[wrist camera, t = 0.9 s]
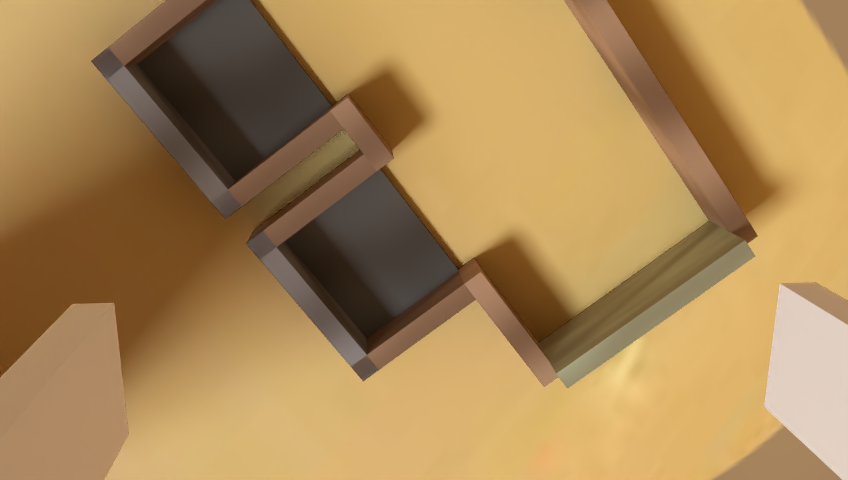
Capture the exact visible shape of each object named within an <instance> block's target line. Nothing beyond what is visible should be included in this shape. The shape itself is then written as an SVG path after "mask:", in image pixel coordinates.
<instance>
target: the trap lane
mask: <svg viewBox="0 0 848 480" xmlns="http://www.w3.org/2000/svg"><path fill="white" fill-rule="evenodd" d="M565 2H566V3H567V5H568V7H569V8H570V10H571V11H572V13H573V14H574V16H575V17H576V19H577V20H578V22H579V23H580V25H581V26H582V28H583V29H584V31H585V32H586V34H587V35H588V37H589V38H590V40H591V42H592V43H593V45H594V46H595V48H596V49H597V51H598V52H599V54H600V55H601V57H602V58H603V60H604V61H605V63H606V64H607V66H608V67H609V69H610V70H611V72H612V73H613V75H614V77H615V78H616V80H617V81H618V83H619V84H620V86H621V87H622V89H623V90H624V92H625V93H626V95H627V96H628V98H629V99H630V101H631V102H632V104H633V105H634V107H635V108H636V110H637V112H638V113H639V115H640V116H641V118H642V119H643V121H644V122H645V124H646V125H647V127H648V128H649V130H650V131H651V133H652V134H653V136H654V137H655V139H656V140H657V142H658V143H659V145H660V147H661V148H662V150H663V151H664V153H665V154H666V156H667V157H668V159H669V160H670V162H671V163H672V165H673V166H674V168H675V169H676V171H677V172H678V174H679V175H680V177H681V178H682V180H683V182H684V183H685V185H686V186H687V188H688V189H689V191H690V192H691V194H692V195H693V197H694V198H695V200H696V201H697V203H698V204H699V206H700V207H701V209H702V210H703V212H704V213H705V215H706V217H707V218H708V220H709V222H707V223H706V224H705V225H703V226H702V227H700V228H699V229H698V230H696V231H695V232H693V233H692V234H691V235H689V236H688V237H686V238H685V239H684V240H682V241H681V242H679V243H678V244H677V245H675V246H674V247H672V248H671V249H670V250H668V251H667V252H665V253H664V254H663V255H661V256H660V257H658V258H657V259H655V260H654V261H653V262H651V263H650V264H648V265H647V266H646V267H644V268H643V269H641V270H640V271H639V272H637V273H636V274H634V275H633V276H632V277H630V278H629V279H627V280H626V281H625V282H623V283H622V284H620V285H619V286H618V287H616V288H615V289H613V290H612V291H611V292H609V293H608V294H606V295H605V296H604V297H602V298H601V299H599V300H598V301H597V302H595V303H594V304H592V305H591V306H590V307H588V308H587V309H585V310H584V311H583V312H581V313H580V314H578V315H577V316H576V317H574V318H573V319H571V320H570V321H569V322H567V323H566V324H564V325H563V326H562V327H560V328H559V329H557V330H556V331H555V332H553V333H552V334H550V335H549V336H548V337H546V338H545V339H543V340H542V341H541V342H539V343H538V341H537V340H536V339H535V337H534V336H533V335H532V334H531V332H530V331H529V330H528V328H527V327H526V326H525V324H524V323H523V322H522V320H521V319H520V318H519V317H518V315H517V314H516V313H515V311H514V310H513V309H512V307H511V306H510V305H509V303H508V302H507V301H506V299H505V298H504V297H503V296H502V294H501V293H500V292H499V290H498V289H497V288H496V286H495V285H494V284H493V282H492V281H491V280H490V279H489V277H488V276H487V275H486V273H485V272H484V271H483V269H482V268H481V267H480V265H479V264H478V263H477V261H476V260H475V259H474V258H473V259H472V260H470V261H469V262H468V263H466V264H465V265H463V266H462V267H461V268H459V269H458V268H457V267H456V266H455V264H454V263H453V262H452V261H451V259H450V258H449V257H448V255H447V254H446V253H445V251H444V250H443V249H442V248H441V246H440V245H439V244H438V242H437V241H436V240H435V239H434V237H433V236H432V235H431V233H430V232H429V231H428V229H427V228H426V227H425V226H424V224H423V223H422V222H421V220H420V219H419V218H418V217H417V215H416V214H415V213H414V211H413V210H412V209H411V207H410V206H409V205H408V204H407V202H406V201H405V200H404V198H403V197H402V196H401V195H400V193H399V192H398V191H397V189H396V188H395V187H394V185H393V184H392V183H391V182H390V180H389V179H388V178H387V176H386V175H385V174H384V173H383V171H382V170H381V168H382V167H383V166H385V165H386V164H387V163H389V162H390V161H391V160H393V159H394V157H393V152H392V150H391V149H390V147H389V146H388V145H387V143H386V142H385V141H384V140H383V138H382V137H381V136H380V134H379V133H378V132H377V130H376V129H375V128H374V126H373V125H372V124H371V123H370V121H369V120H368V119H367V117H366V116H365V115H364V113H363V112H362V111H361V109H360V108H359V107H358V105H357V104H356V103H355V102H354V100H353V99H352V98H351V96H350V95H349V94H347V95H346V96H345V97H343V98H342V99H341V100H340V101H338V102H337V103H336V104H334V105H333V106H332V105H331V104H330V103H329V101H328V100H327V99H326V97H325V96H324V95H323V94H322V92H321V91H320V90H319V88H318V87H317V86H316V85H315V83H314V82H313V81H312V79H311V78H310V77H309V75H308V74H307V73H306V72H305V70H304V69H303V68H302V66H301V65H300V64H299V63H298V61H297V60H296V59H295V57H294V56H293V55H292V53H291V52H290V51H289V50H288V48H287V47H286V46H285V44H284V43H283V42H282V41H281V39H280V38H279V37H278V35H277V34H276V33H275V31H274V30H273V29H272V28H271V26H270V25H269V24H268V22H267V21H266V20H265V19H264V17H263V16H262V15H261V13H260V12H259V11H258V9H257V8H256V7H255V6H254V4H253V3H252V2H251V0H166V1H165V2H164V3H163V4H161V5H160V6H159V7H158V8H156V9H155V10H154V11H153V12H151V13H150V14H149V15H148V16H146V17H145V18H144V19H143V20H141V21H140V22H139V23H138V24H137V25H135V26H134V27H133V28H132V29H130V30H129V31H128V32H127V33H125V34H124V35H123V36H122V37H120V38H119V39H118V40H117V41H115V42H114V43H113V44H112V45H110V46H109V47H108V48H107V49H105V50H104V51H103V52H102V53H101V54H99V55H98V56H97V57H96V58H94V59H93V60H92V61H91V62H92V63H93V64H94V65H95V66H96V68H97V69H98V70H99V71H100V72H101V73H102V75H103V76H104V77H105V78H106V79H107V81H108V82H109V83H110V84H111V85H112V86H113V88H114V89H115V90H116V91H117V92H118V93H119V95H120V96H121V97H122V98H123V99H124V101H125V102H126V103H127V104H128V105H129V106H130V108H131V109H132V110H133V111H134V112H135V113H136V115H137V116H138V117H139V118H140V119H141V121H142V122H143V123H144V124H145V125H146V126H147V128H148V129H149V130H150V131H151V132H152V133H153V135H154V136H155V137H156V138H157V139H158V140H159V142H160V143H161V144H162V145H163V146H164V148H165V149H166V150H167V151H168V152H169V153H170V155H171V156H172V157H173V158H174V159H175V160H176V162H177V163H178V164H179V165H180V166H181V168H182V169H183V170H184V171H185V172H186V173H187V175H188V176H189V177H190V178H191V179H192V180H193V182H194V183H195V184H196V185H197V186H198V188H199V189H200V190H201V191H202V192H203V193H204V195H205V196H206V197H207V198H208V199H209V200H210V202H211V203H212V204H213V205H214V206H215V208H216V209H217V210H218V211H219V212H220V213H221V215H222V216H223V217H224V218H225V219H226V218H228V217H229V216H230V215H231V214H233V213H234V212H235V211H237V210H238V209H239V208H241V207H242V206H243V205H244V204H246V203H247V202H248V201H250V200H251V199H252V198H254V197H255V196H256V195H258V194H259V193H260V192H261V191H263V190H264V189H265V188H267V187H268V186H269V185H271V184H272V183H273V182H275V181H276V180H277V179H278V178H280V177H281V176H282V175H284V174H285V173H286V172H288V171H289V170H290V169H291V168H293V167H294V166H295V165H297V164H298V163H299V162H301V161H302V160H303V159H305V158H306V157H307V156H308V155H310V154H311V153H312V152H314V151H315V150H316V149H318V148H319V147H320V146H322V145H323V144H324V143H325V142H327V141H328V140H329V139H331V138H332V137H333V136H335V135H336V134H337V133H338V132H340V131H341V130H342V129H345V131H346V132H347V133H348V135H349V136H350V137H351V138H352V140H353V141H354V142H355V144H356V145H357V146H358V148H359V149H360V150H359V151H358V152H356V153H355V154H354V155H353V156H351V157H350V158H349V159H347V160H346V161H345V162H343V163H342V164H341V165H339V166H338V167H337V168H335V169H334V170H333V171H331V172H330V173H329V174H328V175H326V176H325V177H324V178H322V179H321V180H320V181H318V182H317V183H316V184H314V185H313V186H312V187H310V188H309V189H308V190H307V191H305V192H304V193H303V194H301V195H300V196H299V197H297V198H296V199H295V200H293V201H292V202H291V203H289V204H288V205H287V206H285V207H284V208H283V209H282V210H280V211H279V212H278V213H276V214H275V215H274V216H272V217H271V218H270V219H268V220H267V221H266V222H264V223H263V224H262V225H261V226H259V227H258V228H257V229H255V230H254V231H253V232H252V234H251V236H250V238H249V240H248V241H247V243H246V244H247V245H248V246H249V247H250V249H251V250H252V251H253V252H254V253H255V255H256V256H257V257H258V258H259V259H260V260H261V262H262V263H263V264H264V265H265V266H266V267H267V269H268V270H269V271H270V272H271V273H272V275H273V276H274V277H275V278H276V279H277V280H278V282H279V283H280V284H281V285H282V286H283V287H284V289H285V290H286V291H287V292H288V293H289V295H290V296H291V297H292V298H293V299H294V300H295V302H296V303H297V304H298V305H299V306H300V307H301V309H302V310H303V311H304V312H305V313H306V315H307V316H308V317H309V318H310V319H311V320H312V322H313V323H314V324H315V325H316V326H317V327H318V329H319V330H320V331H321V332H322V333H323V335H324V336H325V337H326V338H327V339H328V340H329V342H330V343H331V344H332V345H333V346H334V347H335V349H336V350H337V351H338V352H339V353H340V355H341V356H342V357H343V358H344V359H345V360H346V362H347V363H348V364H349V365H350V366H351V367H352V369H353V370H354V371H355V372H356V373H357V374H358V376H359V377H360V378H361V379H362V380H363V381H364V380H366V379H367V378H368V377H370V376H371V375H372V374H374V373H375V372H377V371H378V370H379V369H381V368H382V367H383V366H385V365H386V364H388V363H389V362H390V361H392V360H393V359H394V358H396V357H397V356H399V355H400V354H401V353H403V352H404V351H406V350H407V349H408V348H410V347H411V346H412V345H414V344H415V343H417V342H418V341H419V340H421V339H422V338H423V337H425V336H426V335H428V334H429V333H430V332H432V331H433V330H434V329H436V328H437V327H439V326H440V325H441V324H443V323H444V322H445V321H447V320H448V319H450V318H451V317H452V316H454V315H455V314H456V313H458V312H459V311H461V310H462V309H463V308H465V307H466V306H467V305H469V304H470V303H472V302H473V301H474V300H477V301H478V302H479V304H480V305H481V306H482V308H483V309H484V310H485V311H486V313H487V314H488V315H489V317H490V318H491V319H492V320H493V322H494V323H495V324H496V326H497V327H498V328H499V329H500V331H501V332H502V333H503V335H504V336H505V337H506V339H507V340H508V341H509V342H510V344H511V345H512V346H513V348H514V349H515V350H516V351H517V353H518V354H519V355H520V357H521V358H522V359H523V360H524V362H525V363H526V364H527V366H528V367H529V368H530V369H531V371H532V372H533V373H534V375H535V376H536V377H537V379H538V380H539V381H540V382H541V384H542V385H543V386H544V387H545V386H546V385H548V384H549V383H551V382H552V381H553V380H555V379H556V378H558V377H559V378H560V379H561V381H562V382H563V383H564V385H565V386H566V387H567V388H569V387H570V386H572V385H573V384H575V383H576V382H577V381H579V380H580V379H582V378H583V377H584V376H586V375H587V374H589V373H590V372H592V371H593V370H594V369H596V368H597V367H599V366H600V365H602V364H603V363H604V362H606V361H607V360H609V359H610V358H611V357H613V356H614V355H616V354H617V353H619V352H620V351H621V350H623V349H624V348H626V347H627V346H629V345H630V344H631V343H633V342H634V341H636V340H637V339H638V338H640V337H641V336H643V335H644V334H646V333H647V332H648V331H650V330H651V329H653V328H654V327H655V326H657V325H658V324H660V323H661V322H663V321H664V320H665V319H667V318H668V317H670V316H671V315H673V314H674V313H675V312H677V311H678V310H680V309H681V308H682V307H684V306H685V305H687V304H688V303H690V302H691V301H692V300H694V299H695V298H697V297H698V296H700V295H701V294H702V293H704V292H705V291H707V290H708V289H709V288H711V287H712V286H714V285H715V284H717V283H718V282H719V281H721V280H722V279H724V278H725V277H727V276H728V275H729V274H731V273H732V272H734V271H735V270H736V269H738V268H739V267H741V266H742V265H744V264H745V263H746V262H748V261H749V260H751V259H752V258H753V257H755V255H754V253H753V252H752V250H751V249H750V247H749V245H748V244H747V243H749V242H750V241H752V240H753V239H754V238H756V237H757V234H756V232H755V231H754V229H753V228H752V226H751V225H750V223H749V221H748V220H747V218H746V217H745V215H744V214H743V212H742V211H741V209H740V207H739V206H738V204H737V203H736V201H735V200H734V198H733V197H732V195H731V193H730V192H729V190H728V189H727V187H726V186H725V184H724V183H723V181H722V179H721V178H720V176H719V175H718V173H717V172H716V170H715V168H714V167H713V165H712V164H711V162H710V161H709V159H708V158H707V156H706V154H705V153H704V151H703V150H702V148H701V147H700V145H699V144H698V142H697V140H696V139H695V137H694V136H693V134H692V133H691V131H690V130H689V128H688V126H687V125H686V123H685V122H684V120H683V119H682V117H681V115H680V114H679V112H678V111H677V109H676V108H675V106H674V105H673V103H672V101H671V100H670V98H669V97H668V95H667V94H666V92H665V91H664V89H663V87H662V86H661V84H660V83H659V81H658V80H657V78H656V77H655V75H654V73H653V72H652V70H651V69H650V67H649V66H648V64H647V62H646V61H645V59H644V58H643V56H642V55H641V53H640V52H639V50H638V48H637V47H636V45H635V44H634V42H633V41H632V39H631V38H630V36H629V34H628V33H627V31H626V30H625V28H624V27H623V25H622V24H621V22H620V20H619V19H618V17H617V16H616V14H615V13H614V11H613V10H612V8H611V6H610V5H609V3H608V2H607V0H565Z"/></svg>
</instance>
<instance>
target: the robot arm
mask: <svg viewBox="0 0 848 480" xmlns="http://www.w3.org/2000/svg"><path fill="white" fill-rule="evenodd" d="M764 407H765V408H766V409H767V410H768V411H769V412H770V413H772V414H773V415H774V416H775V417H776V418H777V419H778V420H779V421H780V422H781V423H782V424H783V425H784V426H785V427H787V428H788V429H789V430H790V431H791V432H792V433H793V434H794V435H795V436H796V437H797V438H798V439H799V440H800V441H802V442H803V443H804V444H805V445H806V446H807V447H808V448H809V449H810V450H811V451H812V452H813V453H815V455H817V456H818V457H819V458H820V459H821V460H822V461H823V462H824V463H825V464H826V465H827V466H829V468H830V469H832V470H833V471H834V472H835V473H836V474H837V475H838V476H839V477H840V478H841V479H842V480H848V300H846V299H844V298H843V297H841V296H839V295H837V294H836V293H834V292H832V291H830V290H828V289H827V288H825V287H823V286H821V285H820V284H818V283H816V282H815V283H780V287H779V295H778V303H777V311H776V319H775V326H774V334H773V342H772V350H771V357H770V365H769V373H768V381H767V388H766V396H765V404H764ZM128 434H129V432H128V423H127V414H126V405H125V396H124V387H123V378H122V369H121V360H120V351H119V342H118V332H117V323H116V314H115V305H114V303H86V304H72V305H71V306H70V307H69V308H68V309H67V310H66V311H65V312H64V313H63V314H62V315H61V316H60V317H59V318H58V319H57V320H56V321H55V322H54V323H53V324H52V325H51V326H50V327H49V328H48V329H47V330H46V331H45V332H44V333H43V334H42V335H41V336H40V337H39V338H38V339H37V340H36V341H35V342H34V344H33V345H32V346H31V347H30V348H29V349H28V350H27V351H26V352H25V353H24V354H23V355H22V356H21V357H20V358H19V359H18V360H17V361H16V362H15V363H14V364H13V365H12V366H11V367H10V368H9V369H8V370H7V371H6V372H5V373H4V374H3V375H2V376H1V377H0V480H104V479H105V477H106V475H107V473H108V472H109V470H110V468H111V466H112V464H113V462H114V460H115V459H116V457H117V455H118V453H119V451H120V449H121V447H122V445H123V444H124V442H125V440H126V438H127V436H128Z"/></svg>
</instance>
